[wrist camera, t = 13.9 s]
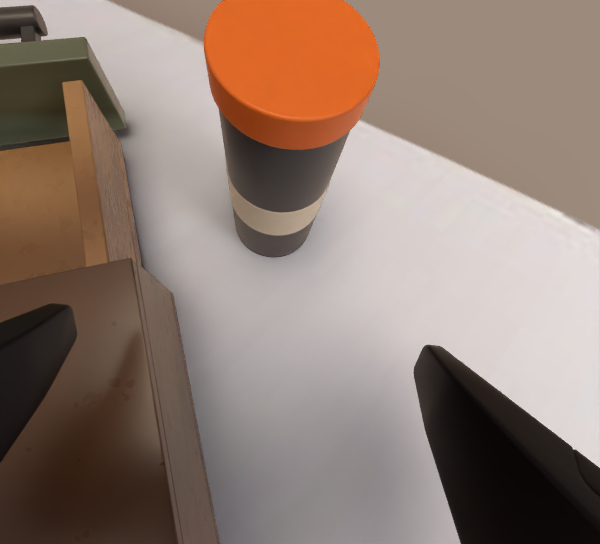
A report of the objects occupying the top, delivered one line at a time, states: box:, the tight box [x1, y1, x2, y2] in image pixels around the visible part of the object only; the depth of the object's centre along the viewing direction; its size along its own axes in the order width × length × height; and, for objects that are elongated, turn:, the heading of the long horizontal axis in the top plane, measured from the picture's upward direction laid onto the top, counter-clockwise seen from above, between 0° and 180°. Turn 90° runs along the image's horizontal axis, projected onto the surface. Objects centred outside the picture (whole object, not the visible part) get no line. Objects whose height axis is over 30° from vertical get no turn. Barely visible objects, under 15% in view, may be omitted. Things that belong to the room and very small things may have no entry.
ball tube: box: [204, 0, 379, 257], centre depth 14 cm, size 4×4×11 cm
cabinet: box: [0, 258, 220, 544], centre depth 12 cm, size 14×12×6 cm
